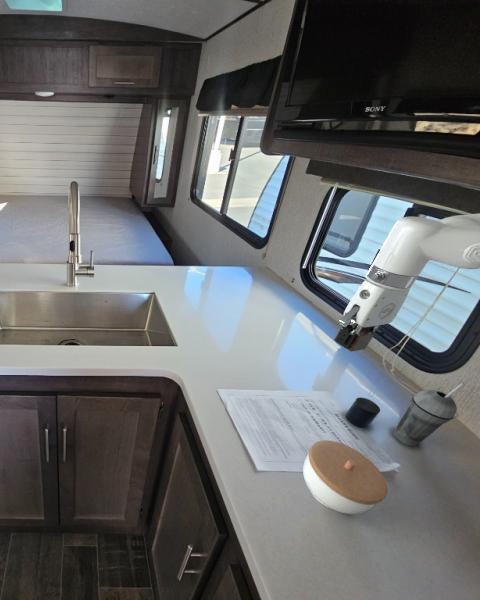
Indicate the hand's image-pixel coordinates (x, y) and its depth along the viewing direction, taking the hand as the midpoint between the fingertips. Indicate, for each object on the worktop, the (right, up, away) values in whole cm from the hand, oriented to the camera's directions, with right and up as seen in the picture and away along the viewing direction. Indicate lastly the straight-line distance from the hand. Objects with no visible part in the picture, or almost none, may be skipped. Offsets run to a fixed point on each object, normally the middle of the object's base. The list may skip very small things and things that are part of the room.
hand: (350, 342), depth 78 cm
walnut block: (0, 0, 0) cm, 1 cm away
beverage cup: (+17, -25, +3) cm, 30 cm away
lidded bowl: (-13, -31, -9) cm, 35 cm away
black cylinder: (+8, -22, +7) cm, 24 cm away
